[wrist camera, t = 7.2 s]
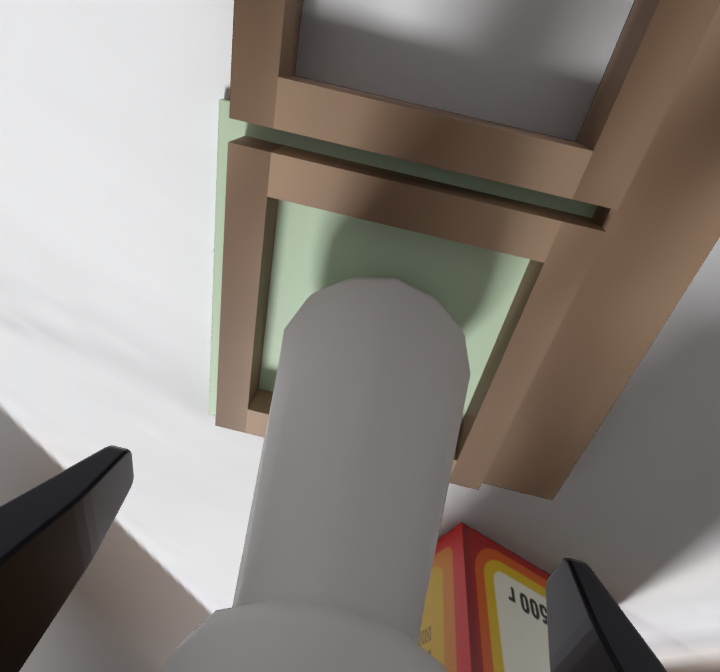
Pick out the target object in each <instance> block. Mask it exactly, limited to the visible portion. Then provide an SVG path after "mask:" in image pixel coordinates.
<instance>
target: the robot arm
mask: <svg viewBox="0 0 720 672" xmlns="http://www.w3.org/2000/svg"><path fill="white" fill-rule="evenodd" d="M133 478H134V474H133V463H132V454H131V452H130V450H128V449H125V448H121V447H117V446H108V447H105V448H104V449H102V450H100V451H98V452H96V453H95V454H93V455H91V456H89V457H87V458H86V459H84V460H82V461H80V462H78V463H77V464H75V465H73V466H71V467H70V468H68V469H66V470H64V471H62V472H61V473H59V474H57V475H55V476H53V477H52V478H50V479H48V480H46V481H45V482H43V483H41V484H39V485H37V486H35V487H34V488H32V489H30V490H28V491H26V492H25V493H23V494H21V495H19V496H18V497H16V498H14V499H12V500H10V501H9V502H7V503H5V504H3V505H1V506H0V672H19V671H20V669H21V668H22V666H23V665H24V663H25V662H26V660H27V659H28V657H29V656H30V654H31V653H32V651H33V650H34V648H35V647H36V645H37V644H38V642H39V641H40V639H41V638H42V636H43V634H44V633H45V631H46V630H47V628H48V627H49V625H50V624H51V622H52V621H53V619H54V618H55V616H56V615H57V613H58V612H59V610H60V609H61V607H62V606H63V604H64V603H65V601H66V600H67V598H68V597H69V595H70V593H71V592H72V590H73V589H74V588H75V586H76V585H77V583H78V581H79V580H80V578H81V577H82V575H83V574H84V572H85V571H86V569H87V568H88V566H89V564H90V563H91V561H92V559H93V558H94V556H95V554H96V552H97V551H98V549H99V547H100V545H101V543H102V541H103V539H104V538H105V536H106V534H107V532H108V530H109V528H110V526H111V524H112V522H113V521H114V519H115V517H116V515H117V513H118V511H119V509H120V507H121V505H122V503H123V501H124V500H125V498H126V496H127V494H128V492H129V490H130V488H131V486H132V483H133ZM546 608H547V626H548V644H549V661H550V672H667V670H666V669H665V668H664V666H663V665H662V664H661V662H660V661H659V659H658V658H657V657H656V655H655V654H654V653H653V651H652V650H651V649H650V647H649V646H648V645H647V643H646V642H645V641H644V639H643V638H642V637H641V635H640V634H639V633H638V631H637V630H636V629H635V627H634V626H633V625H632V623H631V622H630V621H629V619H628V618H627V617H626V615H625V614H624V612H623V611H622V610H621V608H620V607H619V606H618V604H617V603H616V602H615V600H614V599H613V598H612V596H611V595H610V594H609V592H608V591H607V590H606V588H605V587H604V586H603V584H602V583H601V582H600V580H599V579H598V578H597V576H596V575H595V574H594V572H593V571H592V569H591V568H590V567H589V566H588V565H587V564H586V563H584V562H582V561H578V560H574V559H570V558H565V559H563V560H562V561H561V562H560V563H559V565H558V566H557V567H556V569H555V570H554V571H553V573H552V574H551V576H550V577H549V579H548V581H547V584H546Z"/></svg>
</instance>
